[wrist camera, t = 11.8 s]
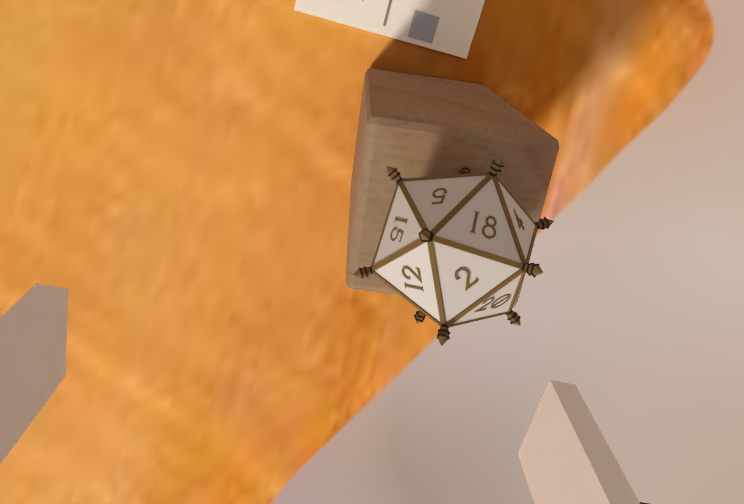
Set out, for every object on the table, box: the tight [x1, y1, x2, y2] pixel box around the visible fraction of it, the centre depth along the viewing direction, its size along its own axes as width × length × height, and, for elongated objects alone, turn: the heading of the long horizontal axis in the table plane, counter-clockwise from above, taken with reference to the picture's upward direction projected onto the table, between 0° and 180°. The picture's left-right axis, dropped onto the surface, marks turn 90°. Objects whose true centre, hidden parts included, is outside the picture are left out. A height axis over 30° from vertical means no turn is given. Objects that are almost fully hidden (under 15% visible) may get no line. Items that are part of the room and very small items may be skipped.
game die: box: [353, 156, 554, 345], centre depth 28 cm, size 9×8×10 cm
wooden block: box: [346, 68, 559, 307], centre depth 41 cm, size 10×10×20 cm
